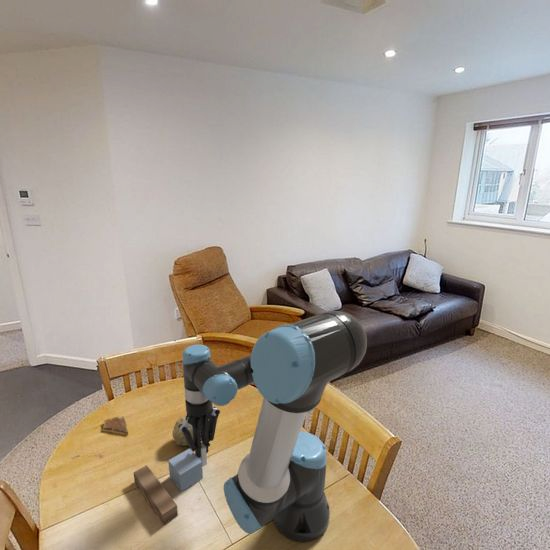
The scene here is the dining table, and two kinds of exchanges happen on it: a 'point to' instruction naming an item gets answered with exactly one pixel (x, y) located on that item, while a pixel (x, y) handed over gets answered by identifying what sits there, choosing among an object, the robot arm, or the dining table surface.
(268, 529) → the dining table surface
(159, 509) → the brown wavy bar
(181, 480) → the block
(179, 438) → the cut rock
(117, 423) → the shard
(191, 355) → the robot arm
